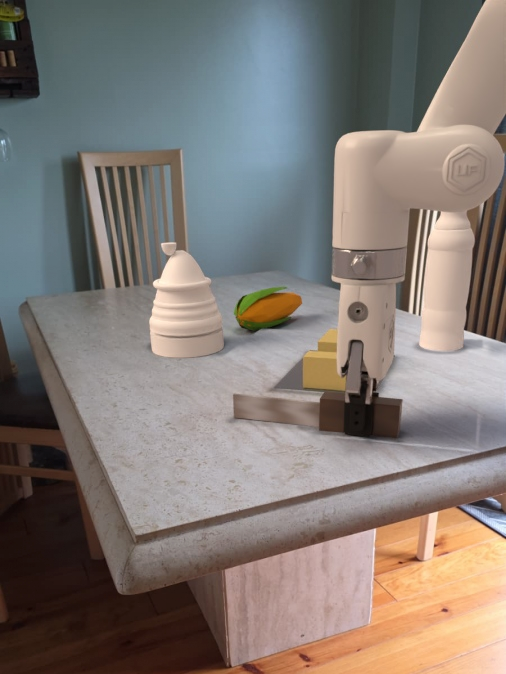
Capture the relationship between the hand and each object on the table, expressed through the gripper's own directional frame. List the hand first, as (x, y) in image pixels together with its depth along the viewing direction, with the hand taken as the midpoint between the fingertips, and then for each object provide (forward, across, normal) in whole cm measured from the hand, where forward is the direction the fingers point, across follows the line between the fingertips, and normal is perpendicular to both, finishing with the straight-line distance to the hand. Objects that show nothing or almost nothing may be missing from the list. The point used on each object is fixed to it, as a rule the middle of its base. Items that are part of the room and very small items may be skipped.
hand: (360, 428), depth 72 cm
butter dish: (+1, +22, +7) cm, 23 cm away
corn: (+1, +52, +28) cm, 59 cm away
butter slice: (0, +14, +7) cm, 16 cm away
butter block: (0, +25, +7) cm, 26 cm away
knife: (0, 0, +6) cm, 6 cm away
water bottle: (+1, +40, -6) cm, 40 cm away
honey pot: (+2, +32, +37) cm, 49 cm away
